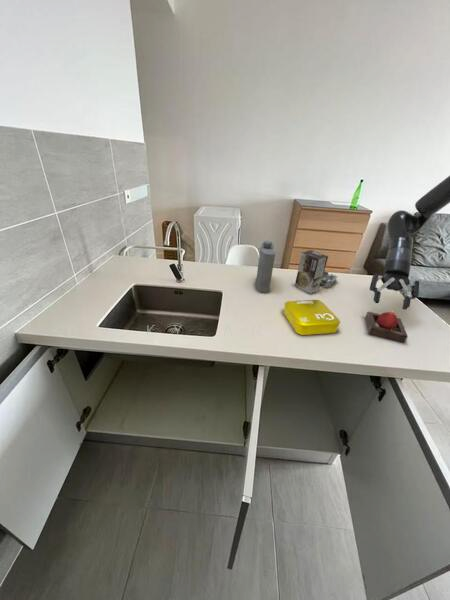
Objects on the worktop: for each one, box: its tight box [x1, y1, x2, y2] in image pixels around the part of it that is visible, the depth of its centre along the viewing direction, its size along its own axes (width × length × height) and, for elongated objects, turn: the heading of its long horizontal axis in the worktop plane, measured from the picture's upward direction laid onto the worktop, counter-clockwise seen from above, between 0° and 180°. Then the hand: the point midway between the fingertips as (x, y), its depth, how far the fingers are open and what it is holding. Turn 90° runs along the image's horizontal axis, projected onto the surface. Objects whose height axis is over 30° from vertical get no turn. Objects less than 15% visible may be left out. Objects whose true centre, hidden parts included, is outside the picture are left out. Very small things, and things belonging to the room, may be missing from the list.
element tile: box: [282, 299, 341, 336], centre depth 86 cm, size 15×15×5 cm
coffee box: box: [294, 249, 329, 295], centre depth 105 cm, size 9×6×16 cm
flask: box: [255, 240, 276, 294], centre depth 105 cm, size 15×6×20 cm, turn 174°
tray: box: [364, 311, 408, 344], centre depth 84 cm, size 11×11×3 cm
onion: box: [377, 310, 398, 330], centre depth 83 cm, size 6×6×8 cm
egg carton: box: [320, 269, 339, 288], centre depth 114 cm, size 11×8×4 cm
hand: (390, 305), depth 84 cm, fingers open, 8 cm apart
